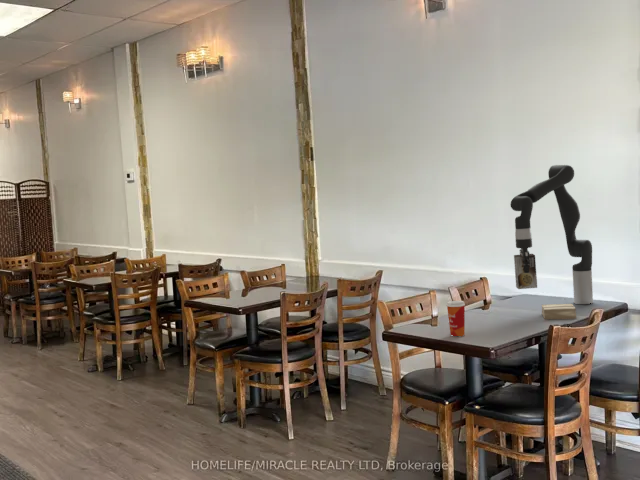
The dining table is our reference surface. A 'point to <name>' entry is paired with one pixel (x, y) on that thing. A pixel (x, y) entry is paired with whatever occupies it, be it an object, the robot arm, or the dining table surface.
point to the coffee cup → (456, 317)
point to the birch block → (558, 311)
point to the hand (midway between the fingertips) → (525, 271)
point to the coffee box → (525, 278)
